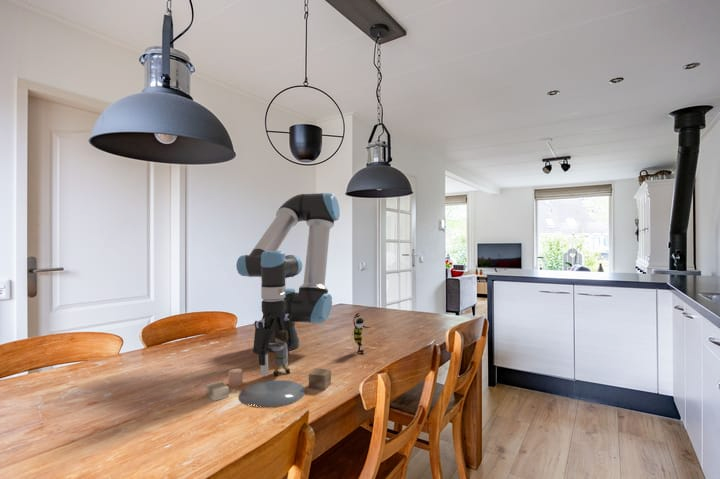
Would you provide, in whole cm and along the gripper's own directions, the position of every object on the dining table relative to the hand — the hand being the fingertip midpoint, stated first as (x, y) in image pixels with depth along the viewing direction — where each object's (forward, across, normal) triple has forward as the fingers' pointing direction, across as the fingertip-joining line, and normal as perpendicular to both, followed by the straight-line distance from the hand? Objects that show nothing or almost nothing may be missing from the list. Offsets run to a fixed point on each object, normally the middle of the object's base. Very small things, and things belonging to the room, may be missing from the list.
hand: (274, 370), depth 119 cm
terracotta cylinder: (+2, -12, +3) cm, 13 cm away
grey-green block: (+2, -20, 0) cm, 21 cm away
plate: (+2, -10, -11) cm, 15 cm away
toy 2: (+3, +36, -8) cm, 37 cm away
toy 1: (+2, 0, 0) cm, 2 cm away
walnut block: (+2, +2, -18) cm, 18 cm away
